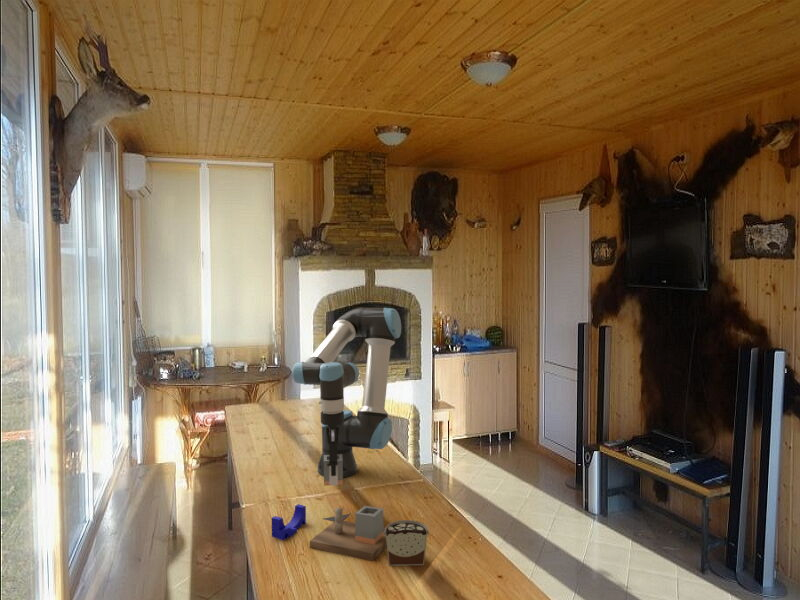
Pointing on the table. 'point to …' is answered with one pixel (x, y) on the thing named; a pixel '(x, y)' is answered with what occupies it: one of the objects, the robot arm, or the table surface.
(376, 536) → the seated sleeve
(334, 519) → the mat
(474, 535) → the table surface
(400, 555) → the brown grey rounded block
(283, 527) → the cable clip
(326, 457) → the sleeve
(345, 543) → the pin board
